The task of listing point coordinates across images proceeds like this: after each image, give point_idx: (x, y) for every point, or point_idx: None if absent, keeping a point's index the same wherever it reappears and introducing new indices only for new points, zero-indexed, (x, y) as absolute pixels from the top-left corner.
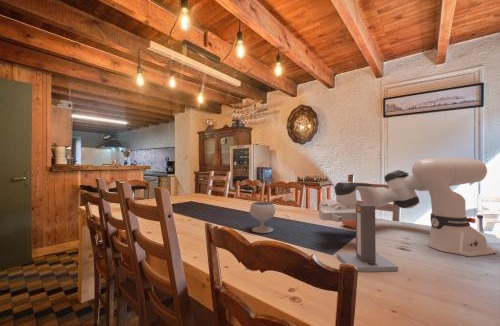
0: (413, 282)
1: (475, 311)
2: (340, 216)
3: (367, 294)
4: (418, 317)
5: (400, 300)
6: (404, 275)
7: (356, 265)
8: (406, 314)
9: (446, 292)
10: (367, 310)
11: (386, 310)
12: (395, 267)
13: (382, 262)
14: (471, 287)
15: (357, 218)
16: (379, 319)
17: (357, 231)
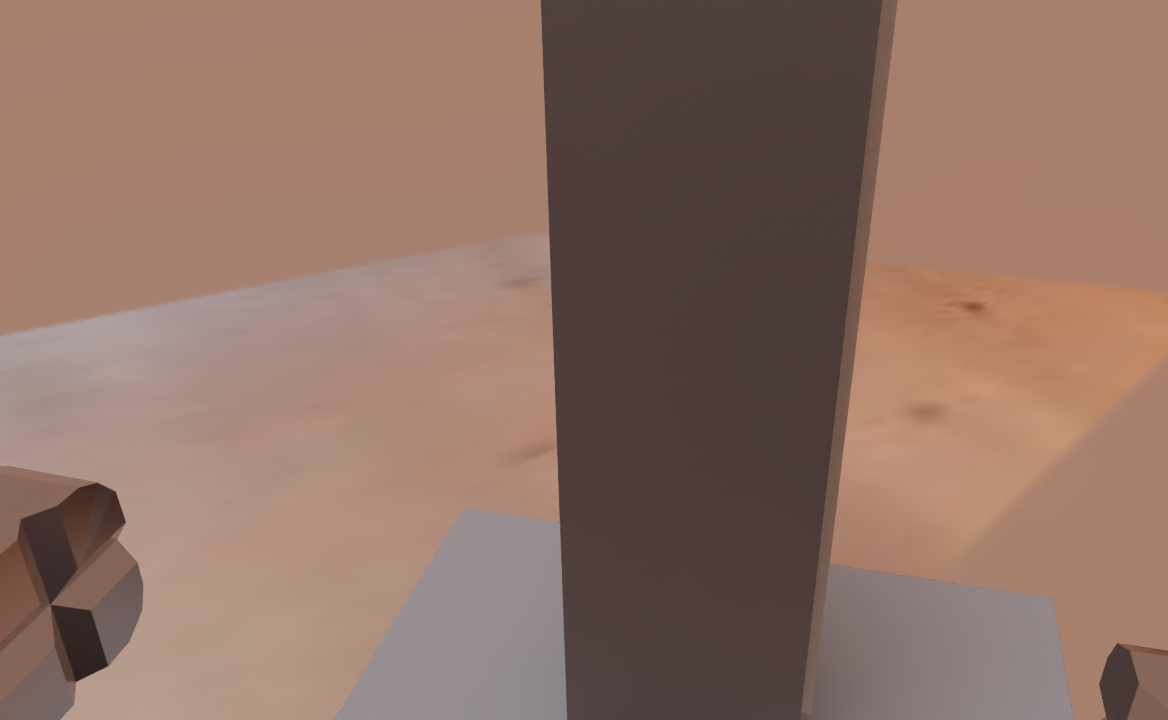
0: (550, 422)
1: (537, 259)
2: (1164, 672)
3: (1057, 399)
4: (872, 274)
5: (857, 340)
6: (500, 491)
7: (957, 618)
8: (919, 289)
9: (470, 336)
10: (1135, 326)
11: (1014, 313)
12: (493, 520)
13: (537, 602)
14: (235, 336)
15: (890, 58)
16: (1096, 291)
17: (852, 358)
